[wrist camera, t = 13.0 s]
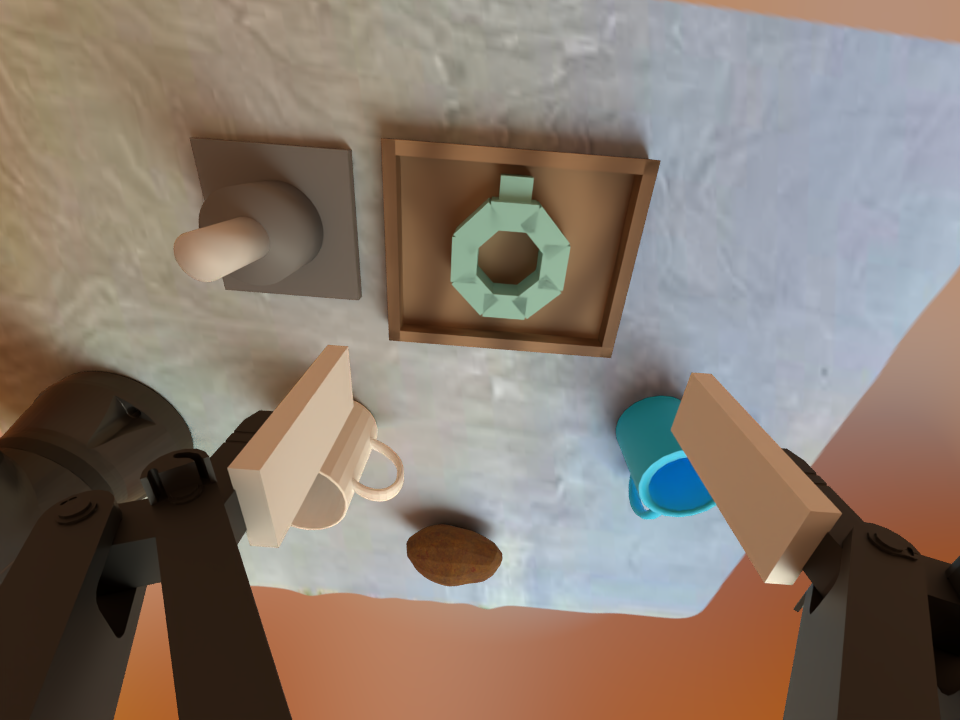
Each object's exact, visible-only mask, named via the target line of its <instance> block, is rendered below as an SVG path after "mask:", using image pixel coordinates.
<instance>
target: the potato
mask: <svg viewBox="0 0 960 720" xmlns="http://www.w3.org/2000/svg"><path fill="white" fill-rule="evenodd" d="M407 556H408V558H409V559H410V561H411V562H412V564H413V565H414V567H415V568H416V570H417V571H418V572H419V573H421V574H422V575H423V576H424V577H426V578H427V579H429V580H431V581H433V582H435V583H438V584H441V585H445V586H459V585H464V584H469V583H477V582H483V581H485V580H487V579H488V578H490V577H491V576H493V574H494V573H495V572H496V570H497V569H498V567H499V566H500V564H501V561H502V552H501V551H500V550H499V548H498V547H497V546H496V544H495V543H494V542H492V541H491V540H489V539H487V538H486V537H484V536H482V535H480V534H478V533H476V532H474V531H471V530H467V529H463V528H458V527H454V526H451V525H446V524H438V525H432V526H429V527H426V528H424V529H422V530H420V531H418V532H417V533H415V534H414V535H412V536H411V537H410V538H409V539H408V541H407Z"/></svg>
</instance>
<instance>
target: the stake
mask: <svg viewBox="0 0 960 720" xmlns="http://www.w3.org/2000/svg"><path fill="white" fill-rule="evenodd" d="M190 141H191V145H192V150H193V154H194V158H195V162H196V167H197V171H198V175H199V179H200V184H201V188H202V192H203V196H204V203H203V205H202V207H201V210H200V214H199V229H197V230H193V231H190V232H186V233H183V234H181V235H180V236H179V237H178V238H177V239H176V241H175V243H174V255H175V258H176V261H177V263H178V264H179V266H180V267H181V268H182V270H183V271H184V272H185V273H187V274H188V275H189V276H191V277H192V278H194V279H196V280H199V281H203V282H212V281H215V280H217V279H219V278H221V277H223V281H224V286H225V290H237V291H249V292H262V293H274V294H287V295H299V296H311V297H324V298H336V299H349V300H359V299H360V298H361V297H362V291H361V277H360V263H359V249H358V235H357V221H356V207H355V193H354V179H353V164H352V150H344V149H332V148H319V147H306V146H294V145H281V144H269V143H256V142H244V141H231V140H218V139H206V138H190Z"/></svg>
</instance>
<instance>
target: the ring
mask: <svg viewBox="0 0 960 720" xmlns="http://www.w3.org/2000/svg"><path fill="white" fill-rule="evenodd" d="M533 182H534V178H533V177H532V176H526V175H513V174H501V178H500V190H499V197H492V200H491V199H490V197H489V198H488V199H487V200H486V201H485V202H484V203H483V204H482V205H481V206H479V207H478V208H477V209H476V210H475V211H474V212H473V213H472V214H471V215H470V216H469V217H467V218H466V219H465V220H464V221H463V222H462V223H461V224H460V225H459V226H458V227H457V228H456V230H455V232H454V234H453V236H452V256H451V282H452V285H453V286H454V288H455V289H456V290H457V291H458V292H459V293H460V294H461V295H462V296H463V297H464V298H465V299H466V301H467V302H468V303H469V304H470V305H471V306H472V307H473V308H474V309H475V310H476V311H477V313H478V314H479V315H481V314H483V315H482V317H495V318H507V319H520V320H524V319H525V318H526V319H528V318H529V317H530V316H532V315H533V314H534V313H536V312H537V311H538V310H540V309H541V308H542V307H544V306H545V305H546V304H548V303H549V302H550V301H552V300H553V299H554V298H556V297H557V296H558V295H560V294H561V291H563V288H564V282H565V276H566V270H567V264H568V259H569V253H570V247H571V246H570V245H569V244H570V243H569V242H568V240H567V239H566V237H565V236H564V235H563V233H562V232H561V231H560V229H559V228H558V227H557V225H556V224H555V223H554V221H553V220H552V219H551V217H550V216H549V215H548V213H547V212H546V211H545V209H544V208H543V207H542V205H541V204H540V203H539V201H538V202H537V201H536V200H531V198H532V190H533ZM498 231H511V232H523V233H527V234H528V236H529V237H530V238H531V239H532V241H533V242H534V243H535V244H536V246H537V247H538V248H539V252H538V259H537V267H536V270H535V271H534V272H532V273H531V274H530V275H529V276H527V277H526V278H525V279H524V280H522V281H521V282H520V283H519V284H517V285H514V284H501V283H493V282H492V281H491V280H490V278H489V277H488V276H487V275H486V274H485V273H484V271H483V270H482V269H481V268H480V267H479V266H478V254H479V247H480V246H481V245H483V244H484V243H485V242H486V241H487V240H488V239H490V238H491V237H492V236H493V235H494V234H495V233H496V232H498Z"/></svg>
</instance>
